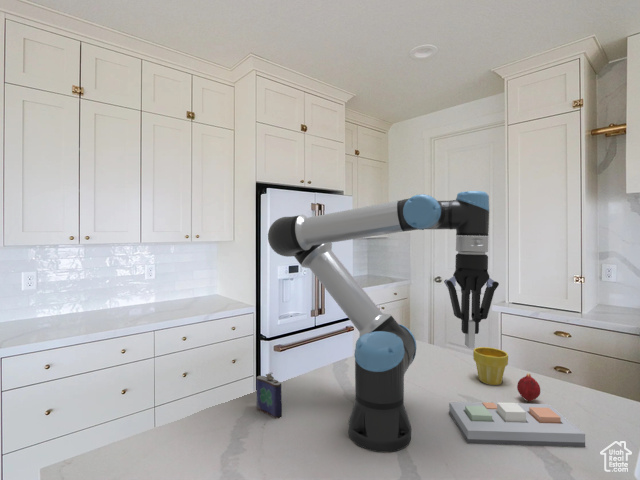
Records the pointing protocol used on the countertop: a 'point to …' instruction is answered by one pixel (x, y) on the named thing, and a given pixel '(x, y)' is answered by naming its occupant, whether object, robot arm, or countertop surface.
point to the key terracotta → (544, 415)
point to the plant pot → (490, 364)
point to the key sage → (478, 413)
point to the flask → (269, 396)
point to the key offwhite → (511, 412)
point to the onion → (528, 388)
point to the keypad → (515, 428)
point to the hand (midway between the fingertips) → (469, 346)
